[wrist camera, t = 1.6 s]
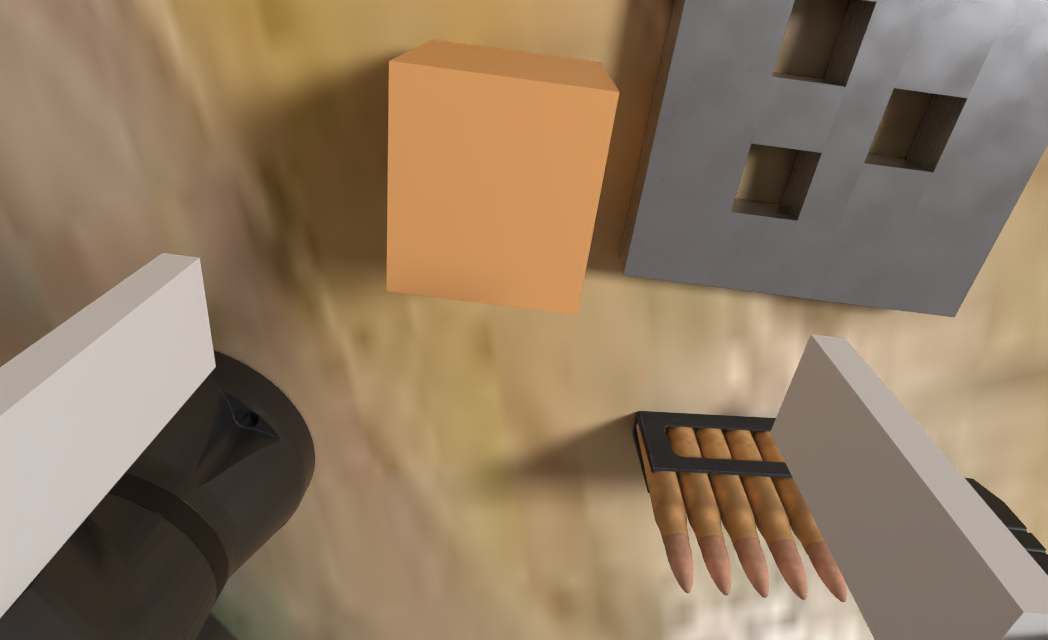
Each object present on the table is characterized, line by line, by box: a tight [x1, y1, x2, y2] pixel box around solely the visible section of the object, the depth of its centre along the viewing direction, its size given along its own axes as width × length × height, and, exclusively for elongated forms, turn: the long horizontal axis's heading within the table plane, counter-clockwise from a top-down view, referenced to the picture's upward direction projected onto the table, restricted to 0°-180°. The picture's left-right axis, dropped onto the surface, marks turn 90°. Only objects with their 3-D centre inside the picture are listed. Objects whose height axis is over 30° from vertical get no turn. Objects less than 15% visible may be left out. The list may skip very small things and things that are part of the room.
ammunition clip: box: [633, 411, 847, 602], centre depth 32 cm, size 11×2×12 cm, turn 88°
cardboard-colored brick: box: [386, 40, 619, 315], centre depth 25 cm, size 7×8×10 cm
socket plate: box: [619, 0, 1048, 317], centre depth 27 cm, size 17×17×2 cm
